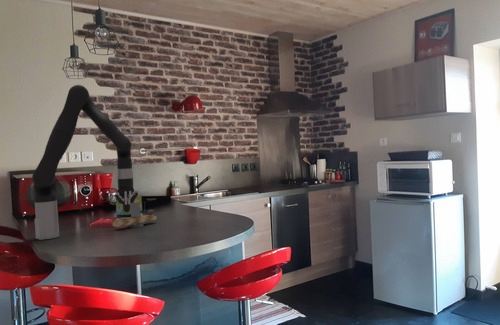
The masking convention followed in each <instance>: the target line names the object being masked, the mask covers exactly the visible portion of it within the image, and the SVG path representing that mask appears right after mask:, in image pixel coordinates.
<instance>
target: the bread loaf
mask: <svg viewBox="0 0 500 325" xmlns="http://www.w3.org/2000/svg"><path fill="white" fill-rule="evenodd" d="M155 220H157V214H156V209H147V211H146V214H142V215H141V217H136V218H133V217H130V218H124V219H118V220H117V219H115V220H114V221H112V227H115V228H116V227H117V228H118V227H119V228H120V227H124V226H127V227H128V228H132V229H137V228H142V227H144V223H146V222H151V221H155Z"/></svg>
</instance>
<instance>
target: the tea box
mask: <svg viewBox="0 0 500 325" xmlns="http://www.w3.org/2000/svg"><path fill="white" fill-rule="evenodd" d="M131 197H132V196H131ZM120 198H121V196H120ZM121 199H122V198H121ZM142 200H143V198H142V194H139V193H138V195H137V197H136V199H135V200H134V201H140V215H143V203H142V202H143V201H142ZM115 206H116V208H115V210H116V220H118V219H124V218H130V217H131V204H130V211H129V212H124V210H123V204H120V203H119V202H118V201H117V200H116V199H115Z"/></svg>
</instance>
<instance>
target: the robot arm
mask: <svg viewBox="0 0 500 325" xmlns="http://www.w3.org/2000/svg"><path fill="white" fill-rule="evenodd" d="M81 111H82V112H83V113H85V114H86V115H87V117H89V118H90V120H92V122H93V123H94V125H96V127H97V128H98V130H100V132H101V133H102V134H103V135H104V136H105V137H106V138H107V139H108V140H110V141H111V142H112V144H113V145H114V146H115V147H116V154H117V155H116V156H117V157H116V158H117V161H116V163H117V164H116V165H117V166H116V167H117V173H116V174H117V192H115V194H113V197H114V199H115V201H116V200H117V201H118V202H119V203H120V204H123V210H124V212H129V211H130V204H131V203H133V202H134V200H135V199H136V197H137V195H138V194H139V192H136V191H135V188H134V173H133V172H134V171H133V162H132V156H131V155H132V154H131V153H132V149H131V148H132V142H131V140H130V139H129V137H127V136H126V135H125V134H124V133H123V132H122V131H121V130H120V129H119V127H118V126H116V124H115V123H114V122H113V121H112V120H111V119H110V118H109V117H108V116H107V115H106V114H105V113H104V112H103V111H102V110H100V109H99V108H98V107H97V105H96V104H95V103H94V101H93V100H92V98H91V96H90V92H89V90H88V88H86V87H85V86H84V85H81V84H75V85H73V86H71V87H70V88H69V90H68V93H67V96H66V99H65V103H64V106H63V108H62V111H61V113H60V114H59V116H58V118H57V120H56V122H55V124H54V126H53V128H52V130H51V132H50V135H49V137H48V140H47V143H46V145H45V149H44V153H43V155H42V156H41V157H42V158H41V159H40V161H39V163H38V164H37V166H36V168H35V170H34V171H33V173H32V177H31V179H32V182H33V184H34V185H33V186H34V188H33V189H34V210H35V213H34V214H35V218H34V228H35V229H34V230H35V239H36V240H40V241H42V240H49V239H50V240H51V239H55V238H59V237H60V229H59V212H58V200H57V195H58V194H57V179H56V172H57V169H58V165H59V164H60V161H61V159H62V158H63V157H64V155H65V154H66V151H67V149H68V148H69V146H70V145H71V142H72V139H73V137H74V135H75V131H76V129H77V128H76V127H77V123H78V119H79V116H80V114H81ZM120 196H121V198H122V199H121V198H120ZM131 196H132V197H131Z"/></svg>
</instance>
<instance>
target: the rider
mask: <svg viewBox="0 0 500 325" xmlns="http://www.w3.org/2000/svg"><path fill="white" fill-rule="evenodd" d="M131 217H133V218H136V217H141V215H140V201H134V202H133V203H131Z"/></svg>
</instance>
